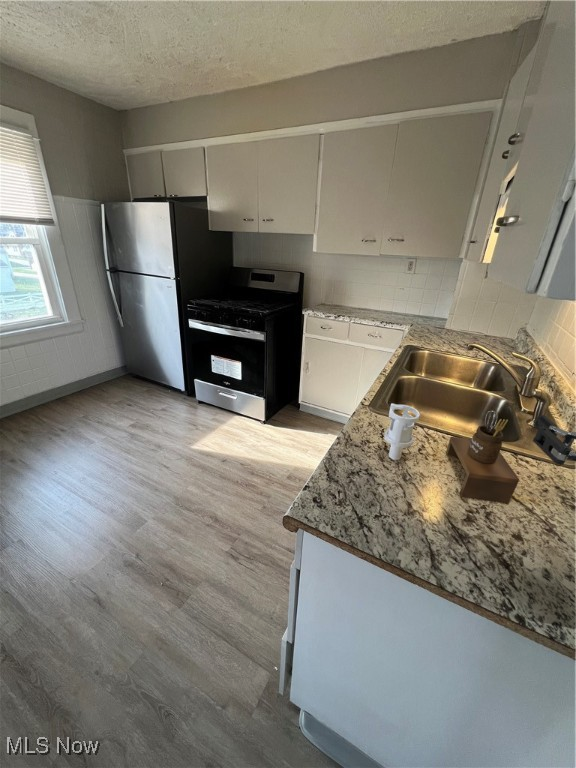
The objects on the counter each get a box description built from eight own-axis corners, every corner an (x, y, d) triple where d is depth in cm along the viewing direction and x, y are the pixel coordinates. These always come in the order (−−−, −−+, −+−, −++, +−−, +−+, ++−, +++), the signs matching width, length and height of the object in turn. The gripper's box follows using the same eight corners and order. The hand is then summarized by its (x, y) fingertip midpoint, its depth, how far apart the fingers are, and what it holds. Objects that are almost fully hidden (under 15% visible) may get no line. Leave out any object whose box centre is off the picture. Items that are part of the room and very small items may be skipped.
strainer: (384, 445, 88) (393, 398, 81) (410, 453, 85) (422, 405, 78) (378, 459, 82) (388, 409, 76) (406, 468, 79) (418, 417, 73)
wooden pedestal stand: (484, 463, 82) (492, 441, 79) (508, 503, 70) (519, 479, 67) (443, 458, 83) (450, 436, 80) (460, 497, 71) (469, 472, 68)
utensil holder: (489, 449, 76) (506, 406, 71) (501, 466, 70) (519, 421, 65) (463, 446, 77) (478, 403, 71) (472, 463, 71) (489, 417, 66)
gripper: (748, 480, 34) (629, 407, 48) (600, 462, 36) (528, 397, 50) (706, 529, 37) (606, 447, 51) (572, 510, 39) (512, 436, 54)
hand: (567, 422), depth 51 cm, fingers open, 8 cm apart
